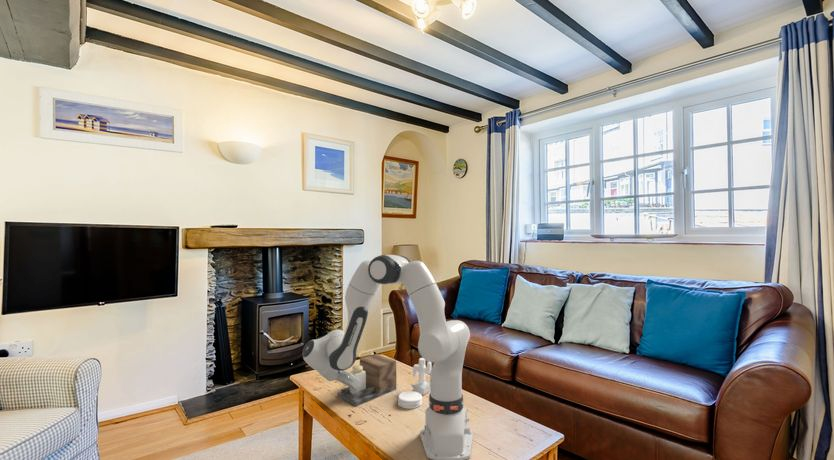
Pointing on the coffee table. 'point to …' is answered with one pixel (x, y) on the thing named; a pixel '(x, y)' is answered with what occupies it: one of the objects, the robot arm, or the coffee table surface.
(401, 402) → the coaster
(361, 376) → the knob
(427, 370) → the figurine
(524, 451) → the coffee table surface
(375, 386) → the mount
